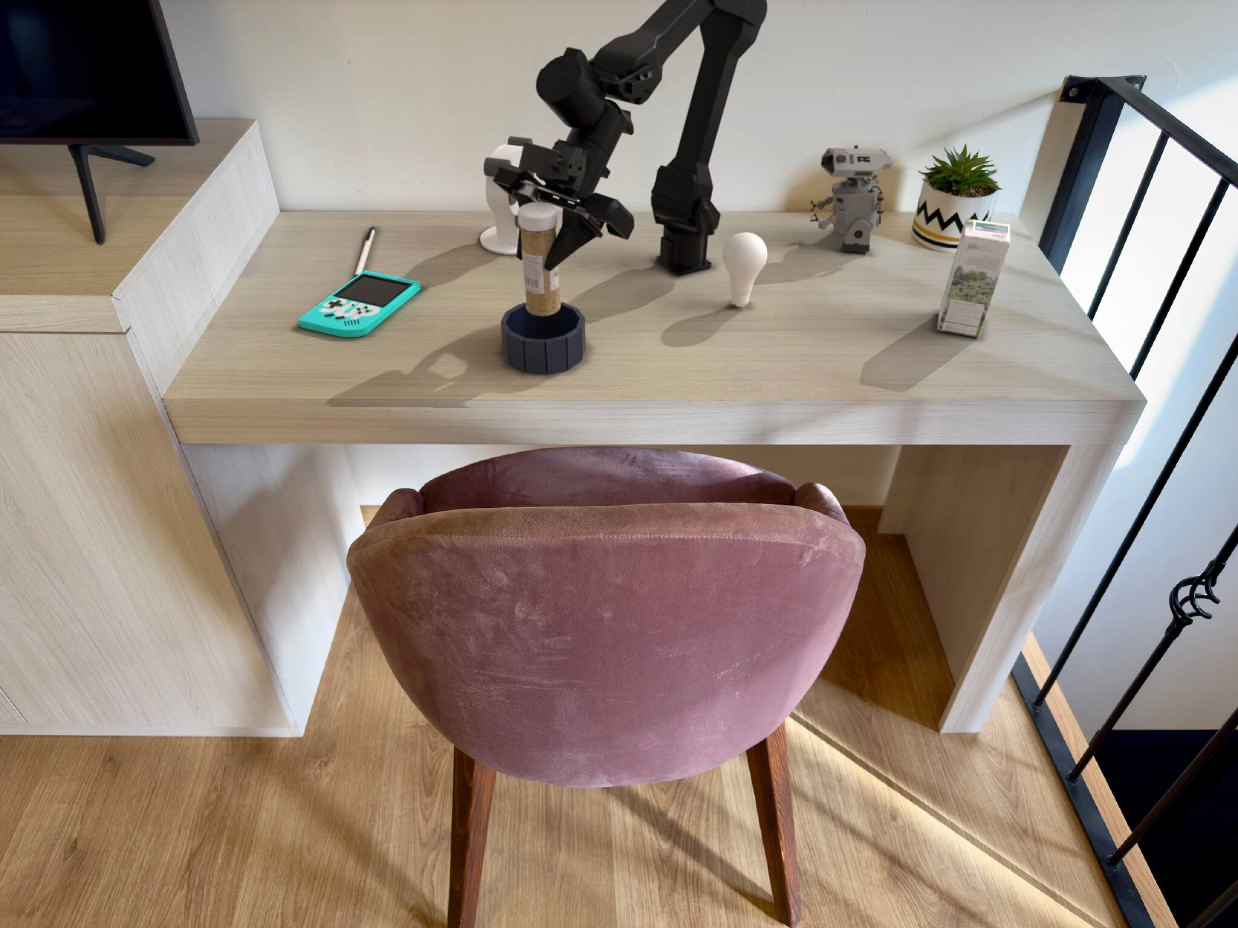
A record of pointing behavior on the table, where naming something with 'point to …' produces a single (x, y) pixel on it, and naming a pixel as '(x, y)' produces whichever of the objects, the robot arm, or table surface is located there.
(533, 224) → the sprinkles bottle
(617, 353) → the table surface
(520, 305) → the pot
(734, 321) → the table surface
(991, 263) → the syrup box
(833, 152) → the figurine
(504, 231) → the panda figurine
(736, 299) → the lightbulb
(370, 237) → the pen
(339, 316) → the handheld game console
